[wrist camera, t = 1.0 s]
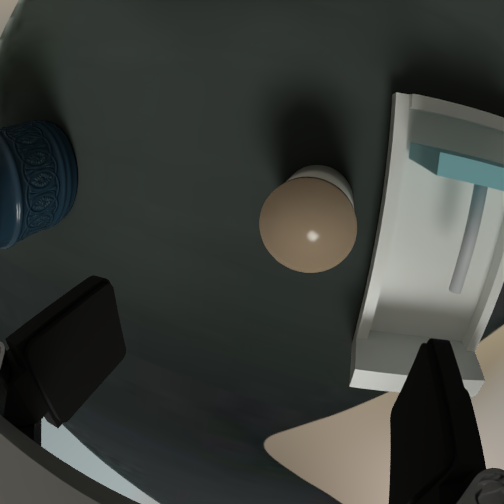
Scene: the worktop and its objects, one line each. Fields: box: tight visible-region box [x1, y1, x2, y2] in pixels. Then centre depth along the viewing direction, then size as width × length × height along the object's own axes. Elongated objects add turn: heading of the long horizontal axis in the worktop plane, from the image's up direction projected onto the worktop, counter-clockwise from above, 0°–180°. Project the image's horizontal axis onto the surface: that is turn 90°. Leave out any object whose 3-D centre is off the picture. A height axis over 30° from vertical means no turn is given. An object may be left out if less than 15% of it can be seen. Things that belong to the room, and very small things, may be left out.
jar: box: [259, 165, 357, 273], centre depth 22 cm, size 6×6×7 cm
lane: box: [349, 92, 504, 397], centre depth 21 cm, size 12×22×6 cm, turn 177°
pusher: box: [409, 142, 504, 294], centre depth 18 cm, size 9×9×8 cm
